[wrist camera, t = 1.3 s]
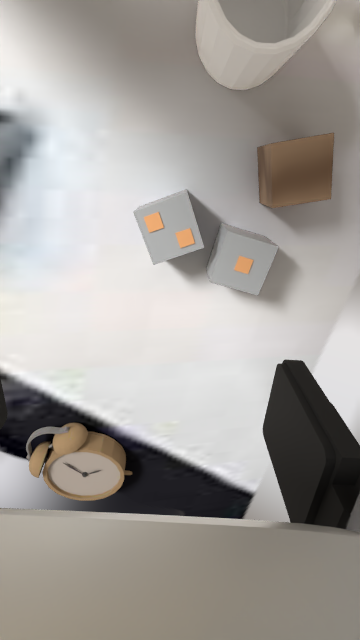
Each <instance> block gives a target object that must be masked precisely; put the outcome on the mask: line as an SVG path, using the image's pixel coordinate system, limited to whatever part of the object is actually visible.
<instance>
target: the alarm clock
mask: <svg viewBox="0 0 360 640" xmlns="http://www.w3.org/2000/svg"><path fill="white" fill-rule="evenodd" d="M47 433H52V434H55V436H54V438H53V444H51V445H50V443H51V442H43V443H41V444H39V445H38V446H37V447H36V448H35V450H34V451H33V453H32V447H31V444H30V441H31V440H32V439H33V438H35V437H37V436H39V435H41V434H47ZM48 447H49V448H51V450H50V453H49V456H48V459H47V458H46V456H47V453H48V451H47V450H48ZM26 450H27V452H28V455H27V458H28V459H29V461H30V462H29V470H30V472H31V474H32V475H33V476H35V477H37V478H38V477H39V475H40V473H41V470H42V467H43V465H44V462H45V461H47V462H46V463H45V466H44V469H43V477H44V481H45V482H46V484H47V485H48V487H49V488H50V489H52V490H53V491H54V492H56V493H57V494H59V495H62V496H64V497H67V498H70V499H76V500H97V499H102V498H105V497H107V496H109V495H112V494H114V493H115V492H116V491H117V490H118V489H119V488H120V487H121V485H122V483H123V481H124V475H132V471H127V470H125V464H126V454H125V451H124V449H123V447H122V446H121V445H120V444H119V443H118V442H117V441H116V440H115V439H113V438H111V437H109V436H107V435H105V434H100V433H96V432H88V431H87V429H86V428H85V427H84V426H83V425H82V424H80V423H69V424H66V425H64V426H63V427H61V428H58V427H44V428H41V429H38V430H36V431H35V432H33V434H32V435H31V436H30V438H29V440H28V442H27V444H26Z"/></svg>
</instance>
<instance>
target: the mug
mask: <svg viewBox="0 0 360 640" xmlns="http://www.w3.org/2000/svg"><path fill="white" fill-rule="evenodd" d="M335 2H336V0H198V6H197V15H196V31H195V39H196V44H197V49H198V54H199V57H200V59H201V61H202V63H203V65H204V67H205V69H206V71H207V73H208V74H209V75H210V76H211V77H212V78H213V79H214V80H215V81H216V82H217V83H219V84H221V85H223V86H225V87H227V88H229V89H235V90H247V89H250V88H253V87H257V86H260V85H261V84H262V83H264V82H265V81H266V80H268V79H269V78H270V77H272V76H273V75H274V74H275V73H276V72H277V71H278V70H279V69H280V68H281V67H282V66H283V65H284V64H285V63H286V62H287V61H288V60H289V59H290V58H291V57H292V56H293V55H294V54H295V53H296V52H297V51H298V50H299V48H300V47H301V46H302V45H303V44H304V43H305V42H306V41H307V40H308V39H309V38H310V37H311V36H312V35H313V34H314V33H315V32H316V31H317V29H318V28H319V27H320V25H321V24H322V23H323V22H324V20H325V19H326V18H327V16H328V15H329V14H330V12H331V11H332V9H333V7H334V5H335Z"/></svg>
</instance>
